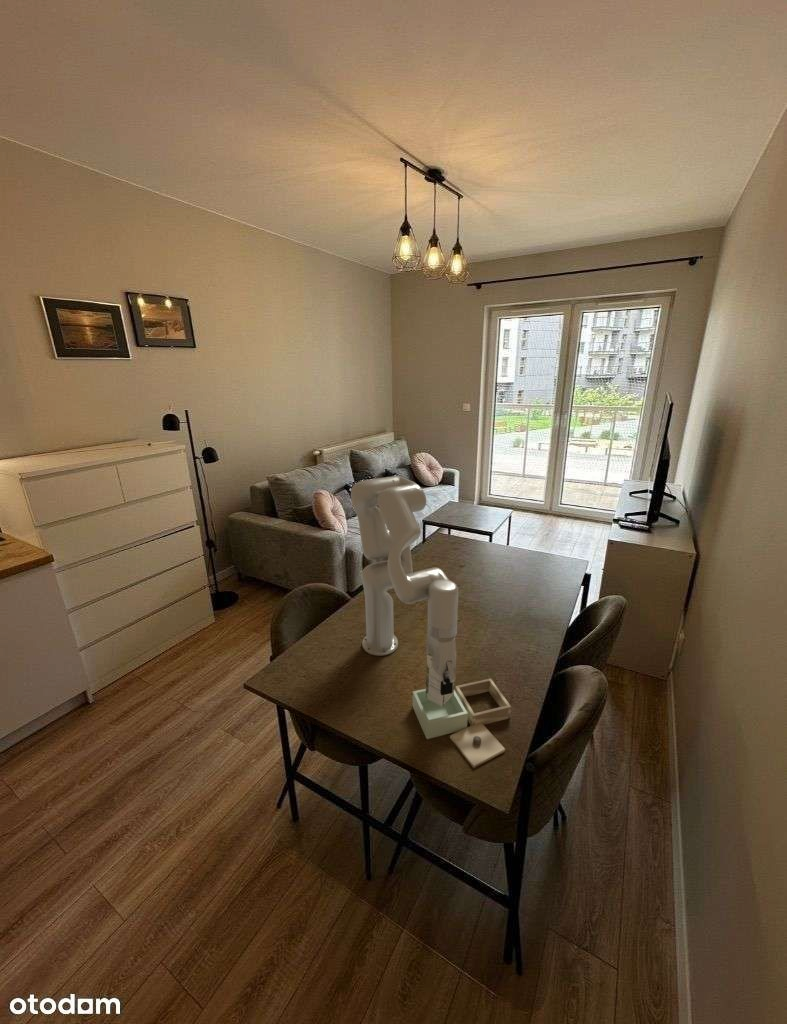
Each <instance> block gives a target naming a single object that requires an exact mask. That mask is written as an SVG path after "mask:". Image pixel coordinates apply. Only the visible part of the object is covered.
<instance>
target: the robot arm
mask: <svg viewBox="0 0 787 1024" xmlns="http://www.w3.org/2000/svg"><path fill="white" fill-rule="evenodd" d="M350 490H351V491H350V499H351V500H350V501H351V504H352V507H353V510H354V512H355V514H356V517H357V520H358V527H359V533H360V543H361V549H362V552H363V555H364V557H365V558H366V560H371V561H372V560H375V561H376V560H380V559H384V558H387V560H381V561H378V562H374V563H373V562H372V563H370V564H368V565H366V566H365V567H364V568H363V569H362V570H361V575H360V576H361V582H362V587H363V593H364V603H365V606H364V607H365V631H366V632H365V633H366V635H365V636H364V638H363V639H362V643H361V645H362V649H363V650H364V652H366V653H368V654H369V655H372V656H376V657H379V656H387V655H390V654H392V653H394V652H395V651H396V650H397V648H398V646H399V639H398V638H397V636H396V635H395V634H394V629H395V628H394V600H393V597H392V595H391V594H390V593H389V592H388V591H389V590H393V589H394V592H395V594H396V596H397V598H398V599H399V600H400V601H401V602H402V603H404V604H407V605H408V604H409V605H410V604H414V603H417V602H420V601H424V600H427V631H426V641H425V655H426V656H427V655H428V654H429V653H431V655H432V667H433V668H434V670H435V672H436V673H437V674H438V675H441V677H442V682H441V691H440V693H441V695H446V694H450V693H452V692H453V682H454V681H455V682H456V681H457V678H456V668H455V665H457V651H456V649H457V648H456V636H457V634H458V615H459V613H458V610H459V588H458V585H457V584H456V583H455V582H454V581H452V580H450V579H449V578H448V576H447V575H446V573H445V571H443V569H441V568H439V567H434V566H433V567H430V568H426V569H422V570H418V571H414V572H413V560H412V551H411V545H412V544H413V543H415V542H416V541H417V540H418V539H419V538H420V536H421V534H422V529H421V528H420V526H419V523H418V521H417V519H416V516H415V514H414V513H415V512H421V511H423V510H424V509H425V508H426V507H427V497H426V493H425V491H424V489H423V487H421V486H420V485H419V484H417V483H416V482H415V481H413V480H410V479H408V478H407V477H403V476H401V475H393V476H386V477H377V478H372V479H363V480H362V481H361V480H360V481H358V482H355V483H354V484H353V486H352V487H351V489H350ZM446 667H447V670H446V671H445V669H446ZM454 671H455V673H454ZM446 673H448V674H449V677H448V678H447V679H445V675H444V674H446ZM455 682H454V683H455Z"/></svg>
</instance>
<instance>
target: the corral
mask: <svg viewBox="0 0 787 1024" xmlns="http://www.w3.org/2000/svg"><path fill="white" fill-rule="evenodd" d="M454 690H455V692H456V694H457V695H458V697H459V699H460V701H461V702H462V704H463V706H464V707H465V709H466V711H467V713H468V718H467V722H468V723H469V724H470V726H471V725H476V724H480V723H482V724H483V725H484V726H485V725H489V724H492V723H493V724H494V723H497V722H500V721H504V720H505V721H506V720H508V719H511V715H512V714H511V711H512V706H511V704H510V702H509V701H508V700H507V699H506V697H505V696H504V695H503V693H502V692H501V690H500V689H499V688H498V686H497V685H496V684H495V682H494V681H493V679H492V678H486V679H483V680H482V679H481V680H477V681H474V682H468V683H464V684H460V685H459V684H458V685H454ZM487 692H489V695H491V697H492V698H493V700H494V701H495V703H496V704H497V706H498V707H494V708H491V709H487V710H483V711H479V712H474V710H473V708H472V707H471V706H470V703H469V701H467V698H466V697H470V696H475V695H479V694H482V693H487Z"/></svg>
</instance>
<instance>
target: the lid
mask: <svg viewBox="0 0 787 1024" xmlns="http://www.w3.org/2000/svg"><path fill="white" fill-rule="evenodd" d="M449 739H450V740H451V742H452V743H453V744H454V745H455V747H457V749H458V750H459V752H460V753H461V754H462V756H463V757H464V758H465V760H467V762H468V763H469V764H470V766H471V767H472V768H473V769H475V768H477V767H479V766H480V765H482V764H484V763H486V762H488V761H490V760H492V759H493V758H495V757H497V756H499V755H500V754H503V753H505V752H506V748H505V747H504V746H503V745H502V743H500V742H499V740H498V739H497V738H496V737H495V736H494V735H493V734H492V733H491V732H490V730H489V729H488V728H487V727H486V726H485V725H483V724H482V723H480V724H476V725H470V726H467V728H465V729H463V730H461V731H457V732H453V734H452V733H451V735H449Z"/></svg>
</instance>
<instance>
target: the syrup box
mask: <svg viewBox="0 0 787 1024" xmlns="http://www.w3.org/2000/svg"><path fill="white" fill-rule="evenodd" d="M456 665H457V664H456ZM456 665H455V669H456ZM446 670H447V667H446V669H445V671H446ZM454 673H455V674H456V670H455V671H454ZM444 675H445V679H447V678H448V677H449V674H448V673H446V674H444ZM441 682H442V677H441V675H438V674H437V673H436V672H435V670H434V668H433V667H432V655H431V653H429V654H428V655H426V676H425V689H426V695H425V697H426V698H427V699H429V700H431V701H432V702H434V703H436V704H438V705H440V706H441V707H443V706H444V705H445V704H446V703H447V702H448V701H449V700H450V699H451V697H452V696H453V695H454V690H455V682H456V680H455V681H454V682H453V692H452V693H450V694H446V695H441V693H440V691H441Z"/></svg>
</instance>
